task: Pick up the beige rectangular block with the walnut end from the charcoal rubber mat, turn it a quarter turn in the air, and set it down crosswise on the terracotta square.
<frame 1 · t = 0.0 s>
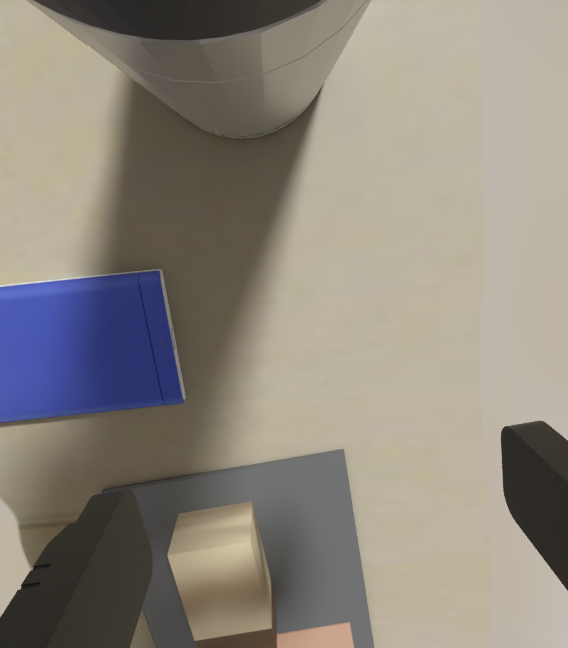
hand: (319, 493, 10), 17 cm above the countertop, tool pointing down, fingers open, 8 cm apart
rubber mat: (257, 606, 33), on the countertop
hard drive: (75, 342, 27), on the countertop
beige rectangular block: (229, 560, 31), resting on rubber mat
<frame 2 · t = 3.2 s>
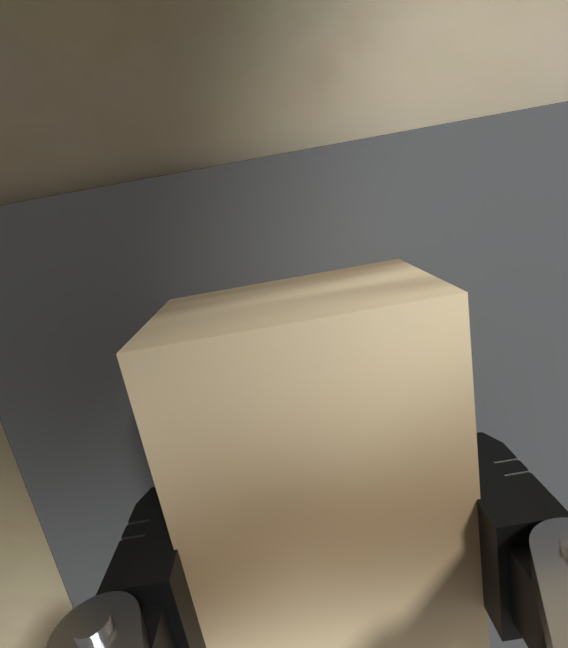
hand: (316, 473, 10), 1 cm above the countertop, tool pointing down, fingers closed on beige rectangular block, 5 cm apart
rubber mat: (376, 600, 13), on the countertop
beige rectangular block: (315, 460, 11), resting on rubber mat, touching gripper
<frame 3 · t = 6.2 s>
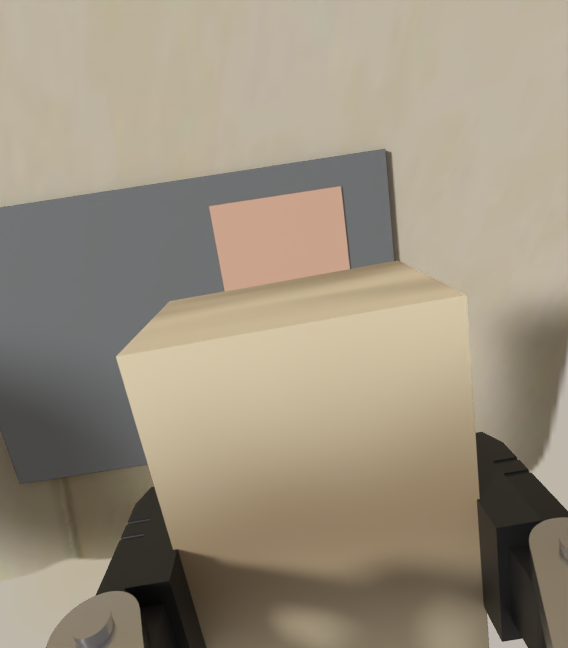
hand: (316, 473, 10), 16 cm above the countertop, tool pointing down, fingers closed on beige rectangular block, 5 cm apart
rubber mat: (188, 328, 26), on the countertop
beige rectangular block: (315, 461, 11), point 15 cm above the countertop, touching gripper
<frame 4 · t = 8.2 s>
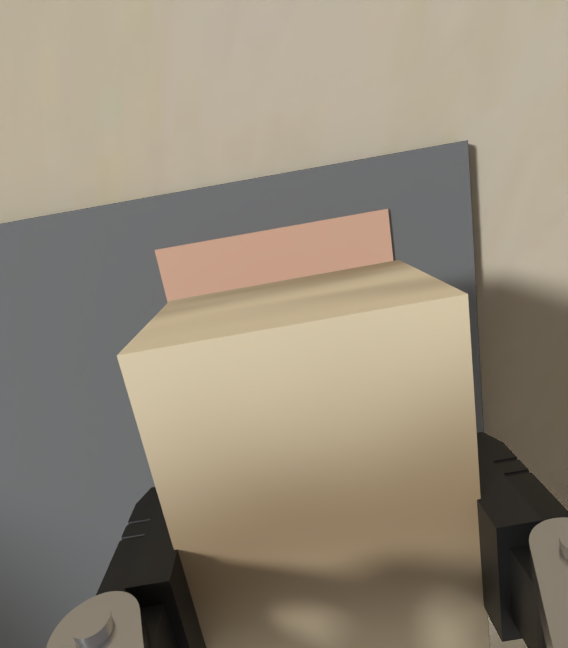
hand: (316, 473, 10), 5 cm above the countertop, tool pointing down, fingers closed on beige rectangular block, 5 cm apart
rubber mat: (133, 446, 16), on the countertop
beige rectangular block: (315, 460, 11), point 4 cm above the countertop, touching gripper
when the fingers open (3 cm above the countertop, at t = 9.6 s): beige rectangular block drops 1 cm, resting on rubber mat.
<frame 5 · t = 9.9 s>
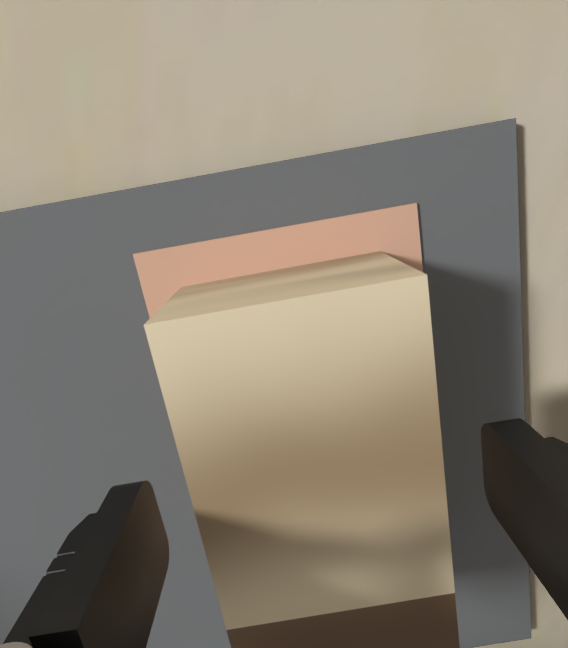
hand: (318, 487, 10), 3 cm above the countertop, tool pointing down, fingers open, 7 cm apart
rubber mat: (112, 484, 13), on the countertop
beige rectangular block: (308, 428, 12), resting on rubber mat
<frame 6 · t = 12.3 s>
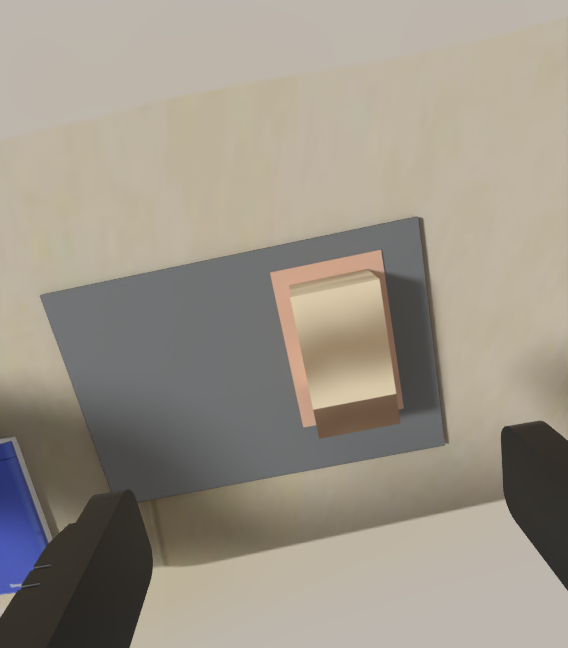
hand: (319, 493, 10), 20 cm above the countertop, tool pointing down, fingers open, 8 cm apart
rubber mat: (254, 372, 30), on the countertop
beige rectangular block: (339, 343, 29), resting on rubber mat
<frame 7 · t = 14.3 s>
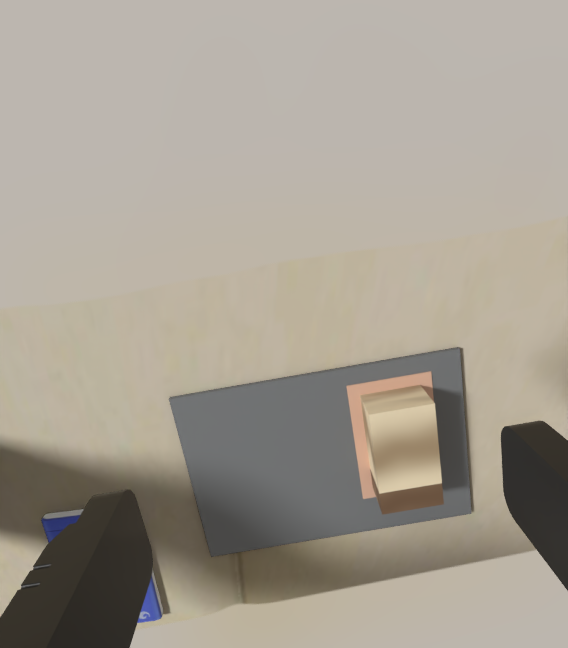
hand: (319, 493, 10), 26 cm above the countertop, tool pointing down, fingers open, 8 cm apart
rubber mat: (327, 456, 39), on the countertop
hard drive: (109, 558, 42), on the countertop
beige rectangular block: (395, 437, 38), resting on rubber mat
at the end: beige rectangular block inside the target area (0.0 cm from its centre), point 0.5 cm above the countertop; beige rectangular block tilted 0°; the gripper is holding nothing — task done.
